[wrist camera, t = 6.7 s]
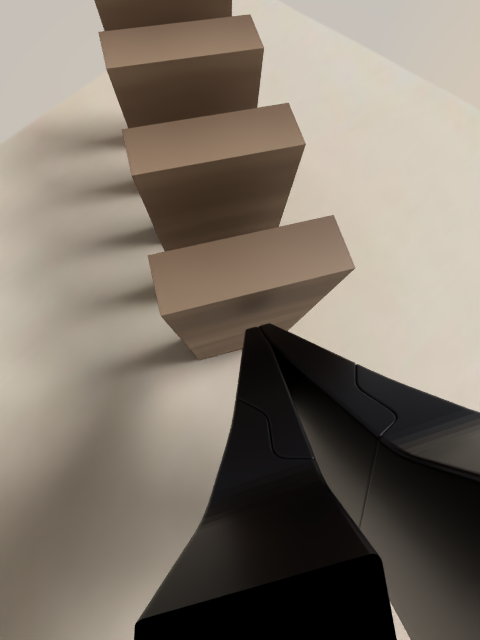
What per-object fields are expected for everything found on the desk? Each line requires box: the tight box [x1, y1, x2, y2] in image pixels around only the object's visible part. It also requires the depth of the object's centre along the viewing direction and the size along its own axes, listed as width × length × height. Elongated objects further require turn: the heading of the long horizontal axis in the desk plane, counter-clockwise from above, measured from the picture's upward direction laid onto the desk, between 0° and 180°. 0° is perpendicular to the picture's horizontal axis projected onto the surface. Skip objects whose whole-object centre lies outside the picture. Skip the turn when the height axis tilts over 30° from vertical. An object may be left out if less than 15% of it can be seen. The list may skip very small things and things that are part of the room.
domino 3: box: [99, 15, 264, 128], centre depth 13 cm, size 2×5×10 cm, turn 106°
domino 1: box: [148, 215, 355, 360], centre depth 12 cm, size 2×5×10 cm, turn 105°
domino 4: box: [95, 0, 232, 31], centre depth 14 cm, size 2×5×10 cm, turn 105°
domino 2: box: [122, 103, 306, 252], centre depth 12 cm, size 2×5×10 cm, turn 106°
